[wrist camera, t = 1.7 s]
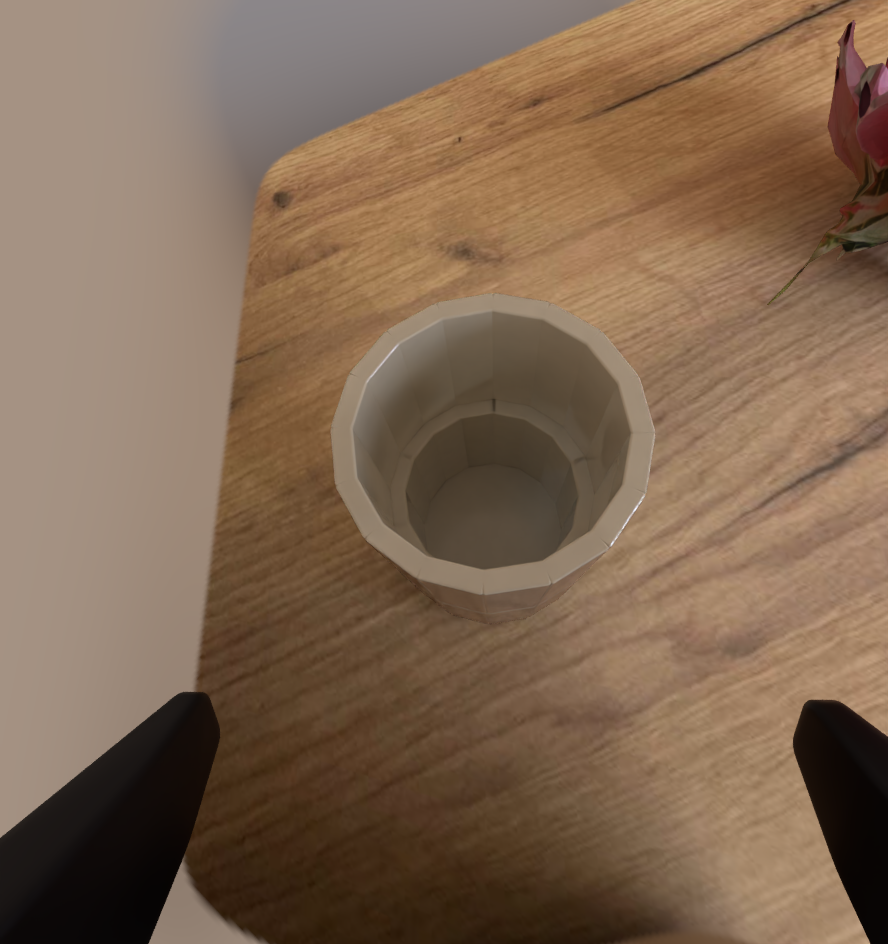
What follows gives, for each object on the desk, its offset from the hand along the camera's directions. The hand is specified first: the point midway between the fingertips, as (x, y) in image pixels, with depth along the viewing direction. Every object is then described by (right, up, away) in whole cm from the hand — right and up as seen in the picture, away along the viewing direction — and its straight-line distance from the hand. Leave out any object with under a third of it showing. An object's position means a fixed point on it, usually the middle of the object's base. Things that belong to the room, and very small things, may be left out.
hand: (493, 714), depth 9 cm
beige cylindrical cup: (+1, +1, +13) cm, 13 cm away
